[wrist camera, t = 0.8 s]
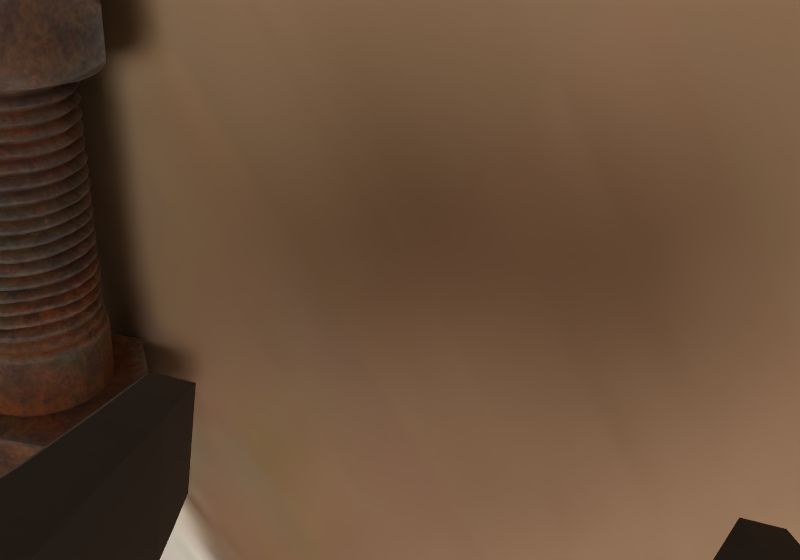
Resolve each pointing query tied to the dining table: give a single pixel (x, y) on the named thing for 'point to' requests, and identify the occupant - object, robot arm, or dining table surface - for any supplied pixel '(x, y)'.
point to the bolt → (51, 233)
